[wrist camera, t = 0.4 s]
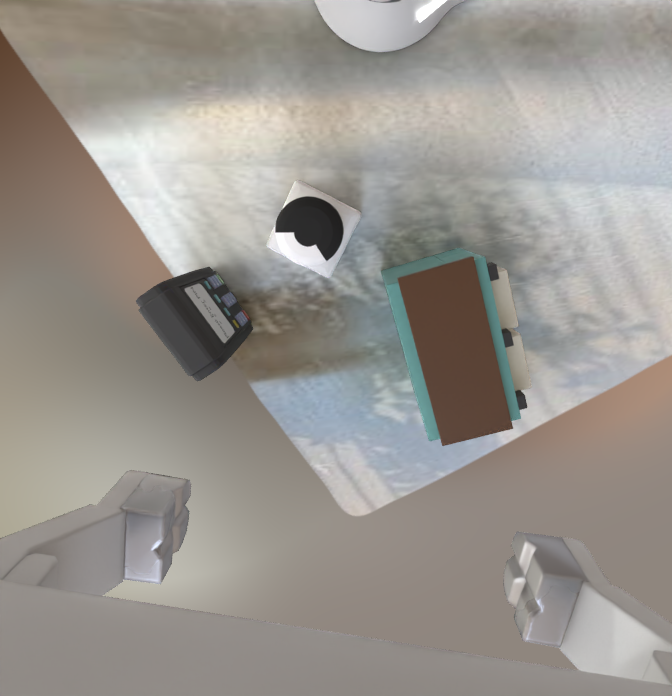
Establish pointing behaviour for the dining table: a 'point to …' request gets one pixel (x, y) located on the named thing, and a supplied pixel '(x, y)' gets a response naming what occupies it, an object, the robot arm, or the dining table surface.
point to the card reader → (196, 320)
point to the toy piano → (454, 345)
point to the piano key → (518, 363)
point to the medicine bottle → (313, 229)
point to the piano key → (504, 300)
